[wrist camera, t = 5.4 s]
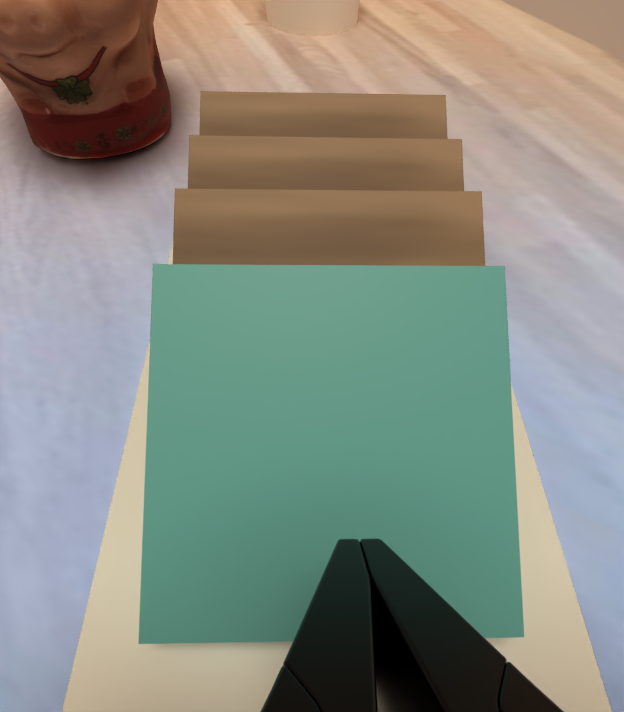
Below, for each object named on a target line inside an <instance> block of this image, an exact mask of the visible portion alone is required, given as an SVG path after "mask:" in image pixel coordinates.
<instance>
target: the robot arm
mask: <svg viewBox="0 0 624 712" xmlns="http://www.w3.org/2000/svg"><path fill="white" fill-rule="evenodd" d="M260 712H564V711H563V710H562V709H560V708H559V707H558V706H557V705H556V704H555V703H554V702H553V701H552V700H551V699H549V698H548V697H547V696H546V695H545V694H544V693H543V692H542V691H541V690H540V689H538V688H537V687H536V686H535V685H534V684H533V683H532V682H531V681H530V680H529V679H528V678H527V677H525V676H524V675H523V674H522V673H521V672H520V671H519V670H518V669H517V668H516V667H515V666H514V665H513V664H512V663H511V662H507V660H506V658H505V657H504V656H503V655H502V654H501V653H500V652H499V651H498V650H497V649H496V648H495V647H494V646H493V645H492V644H491V643H490V642H488V641H487V640H486V639H485V638H484V637H483V636H482V635H481V634H480V633H479V632H478V631H477V630H476V629H475V628H474V627H473V626H472V625H471V624H470V623H469V622H467V621H466V620H465V619H464V618H463V617H462V616H461V615H460V614H459V613H458V612H457V611H456V610H455V609H454V608H453V607H452V606H451V605H450V604H449V603H448V602H446V601H445V600H444V599H443V598H442V597H441V596H440V595H439V594H438V593H437V592H436V591H435V590H434V589H433V588H432V587H431V586H430V585H429V584H428V583H427V582H425V581H424V580H423V579H422V578H421V577H420V576H419V575H418V574H417V573H416V572H415V571H414V570H413V569H412V568H411V567H410V566H409V565H408V564H407V563H406V562H404V561H403V560H402V559H401V558H400V557H399V556H398V555H397V554H396V553H395V552H394V551H393V550H392V549H391V548H390V547H389V546H388V545H387V544H386V543H385V542H383V541H382V540H381V539H378V538H374V539H361V540H360V542H359V540H358V539H339V540H338V541H337V543H336V546H335V548H334V550H333V552H332V555H331V557H330V559H329V561H328V564H327V566H326V568H325V570H324V573H323V575H322V577H321V579H320V582H319V584H318V586H317V588H316V591H315V593H314V595H313V597H312V600H311V602H310V604H309V606H308V609H307V611H306V613H305V615H304V618H303V620H302V622H301V624H300V627H299V629H298V631H297V633H296V636H295V638H294V640H293V642H292V645H291V647H290V649H289V651H288V654H287V656H286V658H285V660H284V663H283V666H282V667H281V669H280V671H279V673H278V675H277V678H276V680H275V682H274V684H273V687H272V689H271V691H270V693H269V695H268V697H267V699H266V701H265V703H264V705H263V707H262V709H261V711H260Z"/></svg>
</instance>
